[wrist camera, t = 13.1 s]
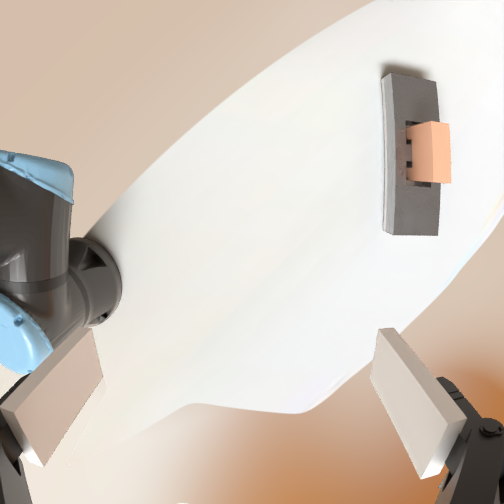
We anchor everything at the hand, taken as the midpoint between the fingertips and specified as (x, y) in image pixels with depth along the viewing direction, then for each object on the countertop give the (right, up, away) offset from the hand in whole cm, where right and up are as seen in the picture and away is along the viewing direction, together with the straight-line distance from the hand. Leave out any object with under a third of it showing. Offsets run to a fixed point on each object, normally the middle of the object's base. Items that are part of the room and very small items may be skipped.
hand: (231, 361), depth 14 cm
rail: (+25, +20, +31) cm, 44 cm away
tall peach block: (+25, +20, +30) cm, 44 cm away
